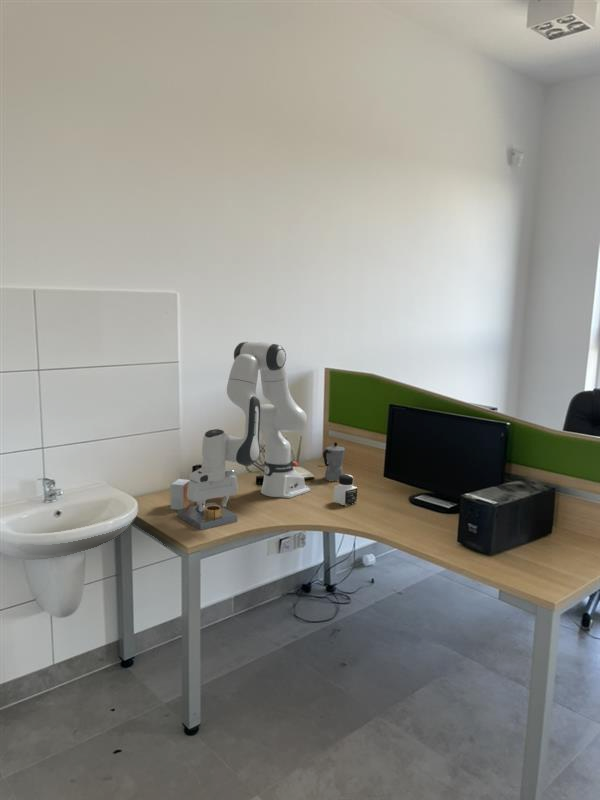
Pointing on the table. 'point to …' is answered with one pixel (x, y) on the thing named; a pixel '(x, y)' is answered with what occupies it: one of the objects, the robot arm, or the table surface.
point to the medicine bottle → (345, 490)
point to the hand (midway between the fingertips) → (212, 508)
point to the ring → (213, 512)
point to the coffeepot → (334, 461)
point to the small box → (179, 494)
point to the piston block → (200, 521)
